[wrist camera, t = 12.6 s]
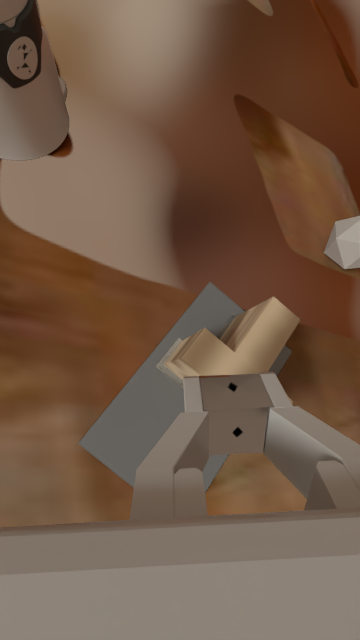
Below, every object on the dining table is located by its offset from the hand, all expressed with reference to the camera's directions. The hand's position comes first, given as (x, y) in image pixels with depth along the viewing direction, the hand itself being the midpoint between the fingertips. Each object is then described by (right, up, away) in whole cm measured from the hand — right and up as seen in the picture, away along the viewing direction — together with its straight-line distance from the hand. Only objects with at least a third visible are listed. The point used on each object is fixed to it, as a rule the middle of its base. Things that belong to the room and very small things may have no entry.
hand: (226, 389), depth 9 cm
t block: (+5, -3, +29) cm, 30 cm away
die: (+25, +14, +38) cm, 48 cm away
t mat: (+1, -7, +27) cm, 28 cm away
